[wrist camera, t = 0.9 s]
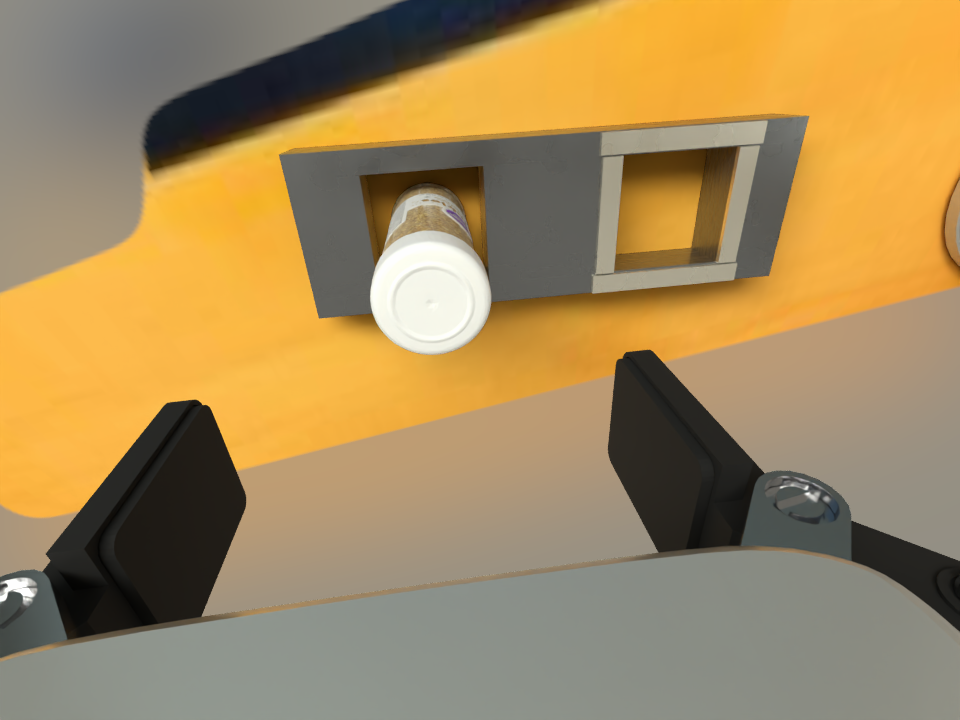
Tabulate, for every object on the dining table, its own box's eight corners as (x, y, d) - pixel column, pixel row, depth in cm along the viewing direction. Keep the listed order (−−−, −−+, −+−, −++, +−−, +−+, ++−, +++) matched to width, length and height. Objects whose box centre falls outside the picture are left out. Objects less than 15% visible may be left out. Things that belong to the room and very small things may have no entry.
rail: (773, 113, 28) (813, 116, 26) (741, 260, 33) (771, 277, 30) (292, 148, 27) (277, 155, 24) (327, 299, 31) (318, 320, 28)
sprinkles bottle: (478, 206, 29) (517, 282, 18) (442, 269, 31) (454, 376, 19) (412, 165, 28) (404, 218, 16) (376, 233, 29) (347, 326, 18)
